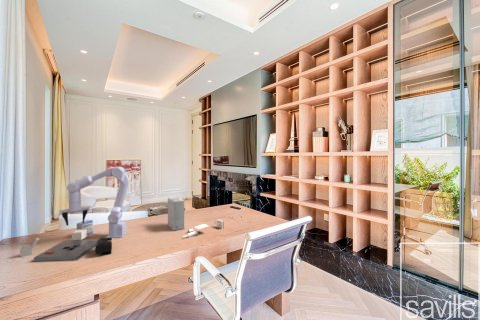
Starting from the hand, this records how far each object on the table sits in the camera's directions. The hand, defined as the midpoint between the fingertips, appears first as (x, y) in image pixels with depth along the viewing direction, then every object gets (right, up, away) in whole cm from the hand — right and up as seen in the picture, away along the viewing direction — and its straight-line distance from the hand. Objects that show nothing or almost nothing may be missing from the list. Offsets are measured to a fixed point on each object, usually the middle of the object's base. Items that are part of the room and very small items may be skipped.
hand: (75, 223), depth 132 cm
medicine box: (0, -10, +8) cm, 12 cm away
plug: (+4, -10, -2) cm, 11 cm away
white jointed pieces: (+74, -10, +15) cm, 77 cm away
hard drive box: (+54, -10, +24) cm, 60 cm away
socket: (+10, -10, -16) cm, 21 cm away
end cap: (+28, -10, -17) cm, 34 cm away
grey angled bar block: (-8, -10, -20) cm, 24 cm away
